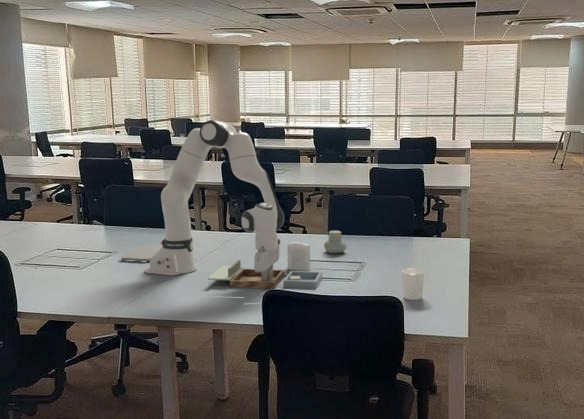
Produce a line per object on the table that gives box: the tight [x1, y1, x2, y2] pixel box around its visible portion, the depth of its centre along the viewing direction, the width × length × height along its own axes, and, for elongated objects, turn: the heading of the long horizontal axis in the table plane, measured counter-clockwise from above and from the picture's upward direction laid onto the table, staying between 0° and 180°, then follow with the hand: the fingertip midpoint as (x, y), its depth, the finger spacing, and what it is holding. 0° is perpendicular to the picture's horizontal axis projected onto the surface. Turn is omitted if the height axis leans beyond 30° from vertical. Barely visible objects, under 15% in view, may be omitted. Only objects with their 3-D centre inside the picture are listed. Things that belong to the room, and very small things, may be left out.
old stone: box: [290, 276, 301, 281], centre depth 254 cm, size 4×4×3 cm
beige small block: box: [261, 267, 274, 282], centre depth 258 cm, size 4×4×5 cm
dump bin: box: [282, 270, 323, 289], centre depth 257 cm, size 13×14×3 cm
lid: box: [207, 259, 244, 281], centre depth 262 cm, size 9×19×4 cm, turn 168°
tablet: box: [120, 244, 162, 261], centre depth 309 cm, size 16×26×2 cm, turn 164°
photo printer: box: [287, 241, 311, 272], centre depth 275 cm, size 10×4×12 cm, turn 60°
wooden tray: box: [229, 268, 286, 290], centre depth 259 cm, size 18×18×3 cm
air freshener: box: [323, 230, 347, 254], centre depth 305 cm, size 11×8×10 cm
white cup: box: [401, 268, 425, 301], centre depth 235 cm, size 8×8×10 cm
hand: (267, 277), depth 258 cm, fingers closed on beige small block, 4 cm apart
